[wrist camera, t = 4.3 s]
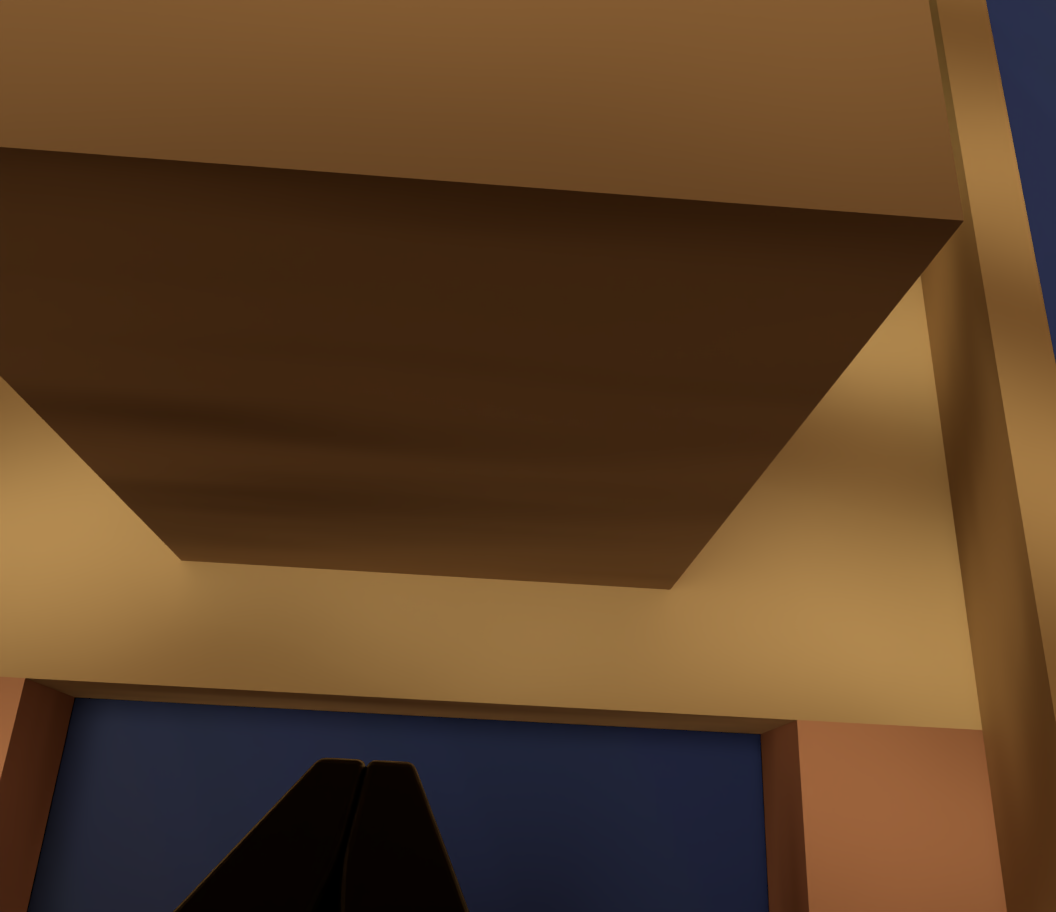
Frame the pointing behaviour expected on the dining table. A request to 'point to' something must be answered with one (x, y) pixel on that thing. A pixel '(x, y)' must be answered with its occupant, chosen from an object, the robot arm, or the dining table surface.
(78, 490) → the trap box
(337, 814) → the robot arm
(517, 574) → the walnut block
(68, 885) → the dining table surface
